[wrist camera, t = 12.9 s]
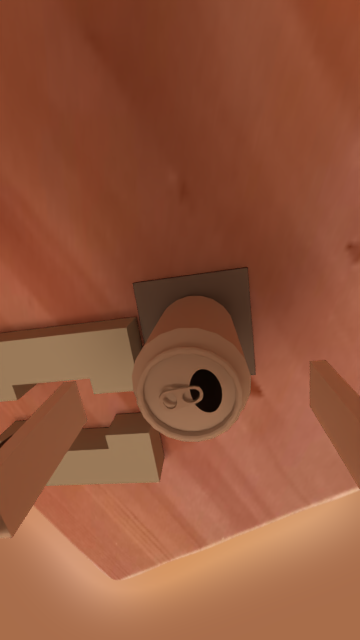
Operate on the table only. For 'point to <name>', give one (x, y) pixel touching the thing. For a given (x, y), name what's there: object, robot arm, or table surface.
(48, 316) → the table surface
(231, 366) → the can
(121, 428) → the pocket block
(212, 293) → the coaster
